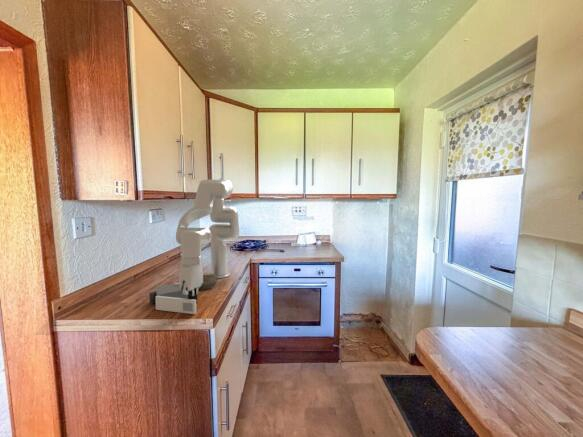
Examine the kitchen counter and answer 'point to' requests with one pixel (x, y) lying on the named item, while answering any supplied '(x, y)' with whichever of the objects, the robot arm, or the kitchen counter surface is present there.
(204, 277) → the marble piece
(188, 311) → the side door
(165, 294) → the camera housing
